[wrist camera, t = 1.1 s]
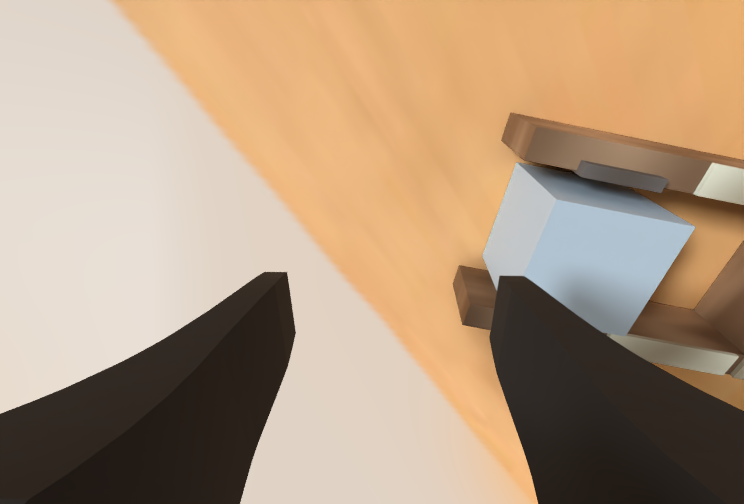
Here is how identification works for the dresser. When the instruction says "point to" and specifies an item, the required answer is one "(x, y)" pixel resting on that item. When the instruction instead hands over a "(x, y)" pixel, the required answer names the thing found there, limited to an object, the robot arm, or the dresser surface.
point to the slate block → (584, 243)
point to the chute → (653, 173)
